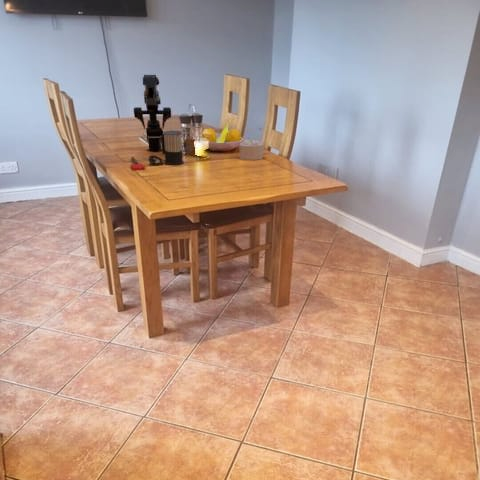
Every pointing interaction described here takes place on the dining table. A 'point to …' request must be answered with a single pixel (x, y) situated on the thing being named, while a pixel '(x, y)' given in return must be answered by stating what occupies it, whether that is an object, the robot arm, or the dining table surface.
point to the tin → (190, 147)
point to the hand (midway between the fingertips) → (153, 128)
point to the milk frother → (170, 148)
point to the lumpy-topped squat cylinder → (251, 150)
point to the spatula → (137, 165)
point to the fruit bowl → (223, 139)
